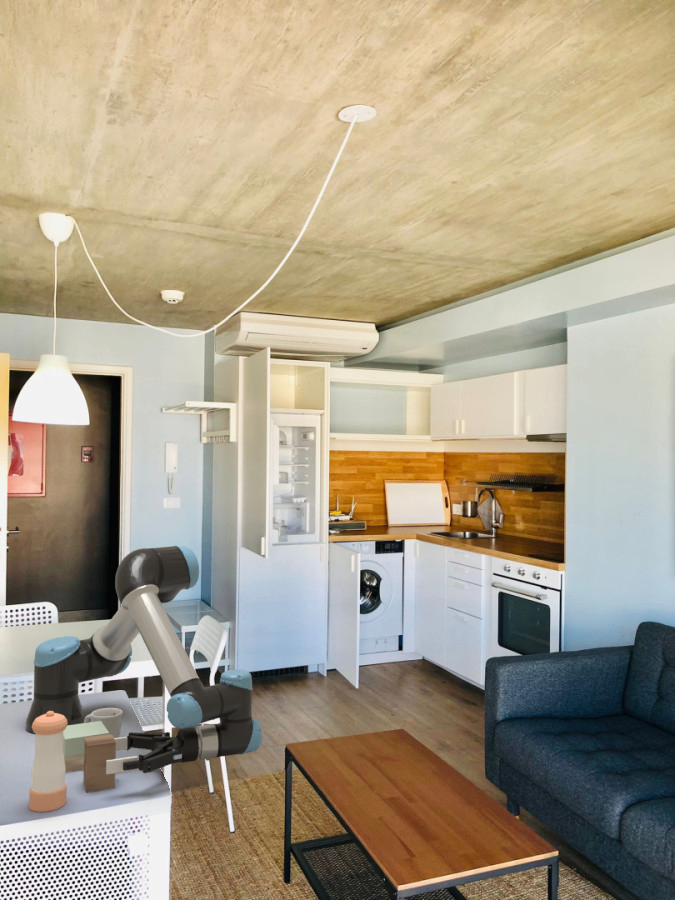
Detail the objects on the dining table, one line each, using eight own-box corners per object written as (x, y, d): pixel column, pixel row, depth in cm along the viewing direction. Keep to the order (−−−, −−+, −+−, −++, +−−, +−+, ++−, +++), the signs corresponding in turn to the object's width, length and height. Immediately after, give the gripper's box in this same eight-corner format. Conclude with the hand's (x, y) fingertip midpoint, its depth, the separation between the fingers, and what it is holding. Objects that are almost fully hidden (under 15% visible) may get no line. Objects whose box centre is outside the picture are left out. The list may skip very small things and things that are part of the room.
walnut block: (83, 782, 166) (84, 737, 166) (111, 778, 168) (112, 733, 169) (86, 792, 160) (87, 745, 161) (114, 788, 163) (115, 742, 163)
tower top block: (58, 743, 180) (58, 726, 180) (100, 737, 185) (100, 720, 185) (64, 756, 171) (65, 739, 172) (108, 749, 176) (109, 732, 176)
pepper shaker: (35, 797, 158) (38, 706, 159) (70, 796, 158) (72, 706, 159) (23, 812, 150) (26, 717, 151) (60, 811, 151) (62, 716, 152)
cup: (74, 745, 190) (75, 713, 190) (94, 735, 197) (95, 704, 197) (109, 750, 186) (109, 718, 186) (128, 740, 193) (129, 709, 194)
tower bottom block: (58, 759, 180) (59, 742, 181) (101, 753, 185) (101, 737, 185) (62, 774, 171) (62, 756, 172) (106, 767, 176) (107, 750, 176)
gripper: (209, 778, 162) (109, 795, 153) (183, 742, 184) (94, 755, 175) (210, 744, 162) (110, 758, 153) (183, 712, 185) (95, 723, 176)
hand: (101, 756), depth 164 cm, fingers open, 13 cm apart
